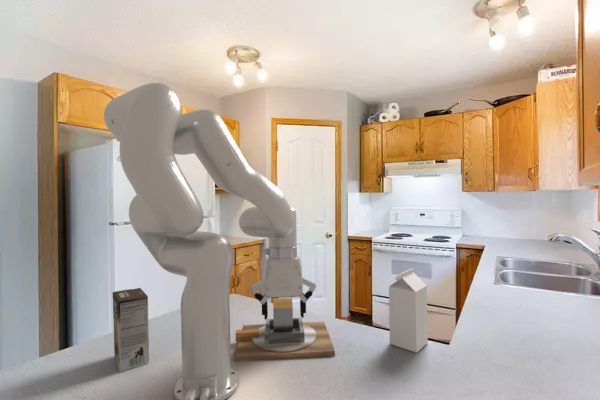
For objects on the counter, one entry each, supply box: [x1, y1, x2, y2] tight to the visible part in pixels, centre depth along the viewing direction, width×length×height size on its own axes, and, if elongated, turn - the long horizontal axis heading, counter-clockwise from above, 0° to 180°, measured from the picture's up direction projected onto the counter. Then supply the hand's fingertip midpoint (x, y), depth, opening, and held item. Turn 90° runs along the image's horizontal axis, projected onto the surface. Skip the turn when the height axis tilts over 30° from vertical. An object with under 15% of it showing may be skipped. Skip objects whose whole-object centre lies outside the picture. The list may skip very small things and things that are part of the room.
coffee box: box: [112, 287, 150, 373], centre depth 75 cm, size 9×6×16 cm
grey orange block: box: [272, 297, 294, 332], centre depth 83 cm, size 5×5×9 cm
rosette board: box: [233, 317, 336, 362], centre depth 84 cm, size 18×25×4 cm
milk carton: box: [388, 267, 429, 353], centre depth 81 cm, size 7×7×19 cm
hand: (284, 316), depth 84 cm, fingers open, 9 cm apart
